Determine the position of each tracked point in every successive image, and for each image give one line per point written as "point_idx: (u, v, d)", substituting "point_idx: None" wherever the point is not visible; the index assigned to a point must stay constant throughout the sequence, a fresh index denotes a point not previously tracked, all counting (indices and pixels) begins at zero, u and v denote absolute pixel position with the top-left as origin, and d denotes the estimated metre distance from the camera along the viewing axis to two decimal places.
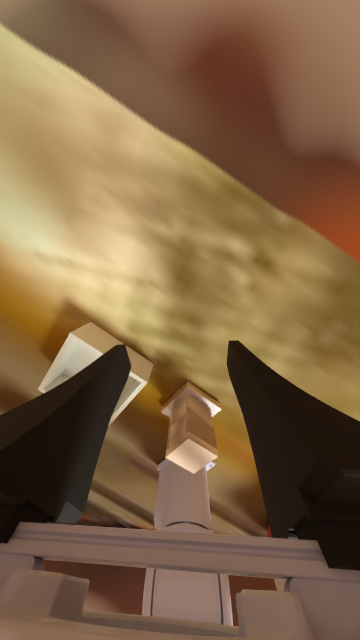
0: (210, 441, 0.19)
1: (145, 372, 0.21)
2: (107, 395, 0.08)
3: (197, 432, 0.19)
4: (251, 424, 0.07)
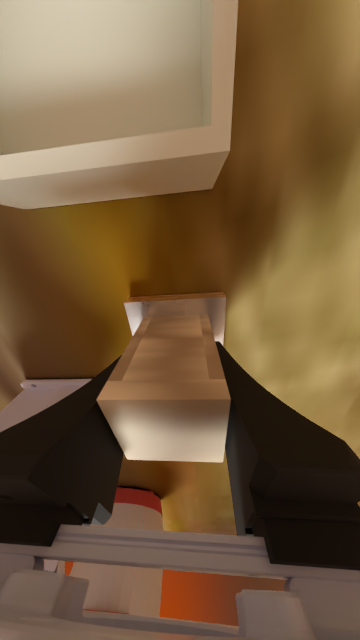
0: None
1: None
2: None
3: None
4: None
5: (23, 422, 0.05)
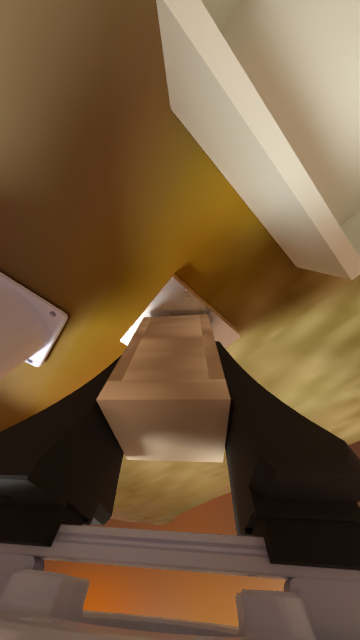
0: None
1: None
2: None
3: None
4: None
5: (23, 422, 0.05)
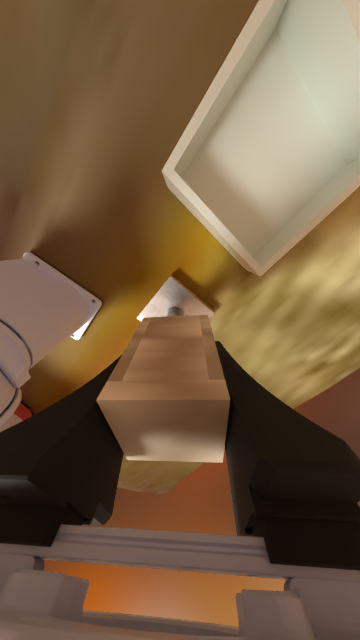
0: None
1: None
2: None
3: None
4: None
5: (23, 422, 0.05)
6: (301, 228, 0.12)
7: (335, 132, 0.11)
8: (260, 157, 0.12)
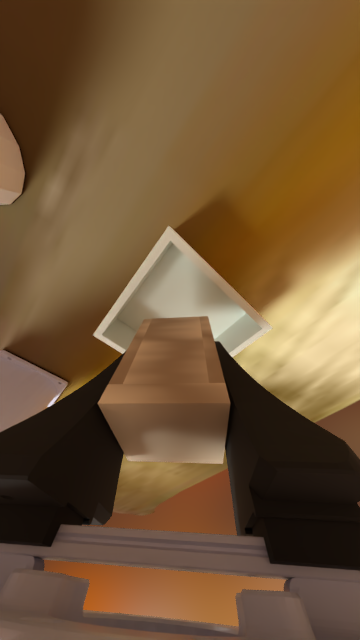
0: None
1: None
2: None
3: None
4: None
5: (23, 422, 0.05)
6: None
7: None
8: (179, 305, 0.16)
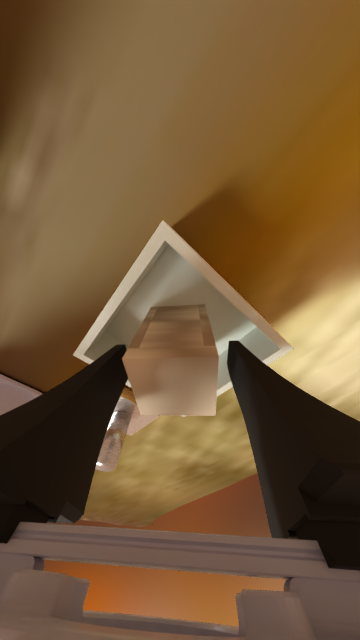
0: None
1: None
2: (107, 395, 0.08)
3: None
4: (251, 424, 0.07)
5: None
6: None
7: None
8: None
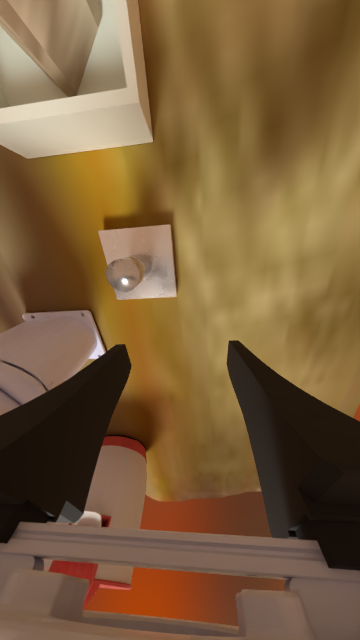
0: None
1: (143, 101, 0.10)
2: (107, 395, 0.08)
3: None
4: (251, 424, 0.07)
5: None
6: None
7: None
8: None
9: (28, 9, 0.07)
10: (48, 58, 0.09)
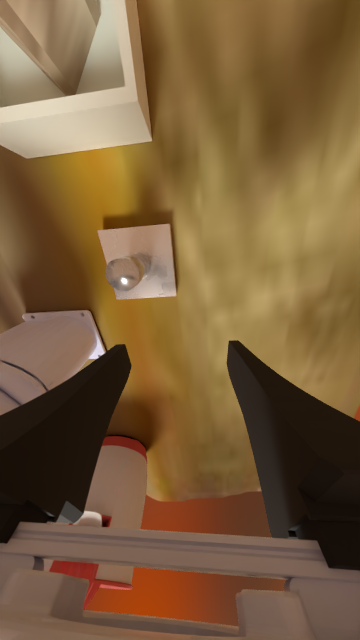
0: None
1: (141, 99, 0.10)
2: (107, 395, 0.08)
3: None
4: (251, 424, 0.07)
5: None
6: None
7: None
8: None
9: (26, 8, 0.07)
10: (46, 57, 0.09)
